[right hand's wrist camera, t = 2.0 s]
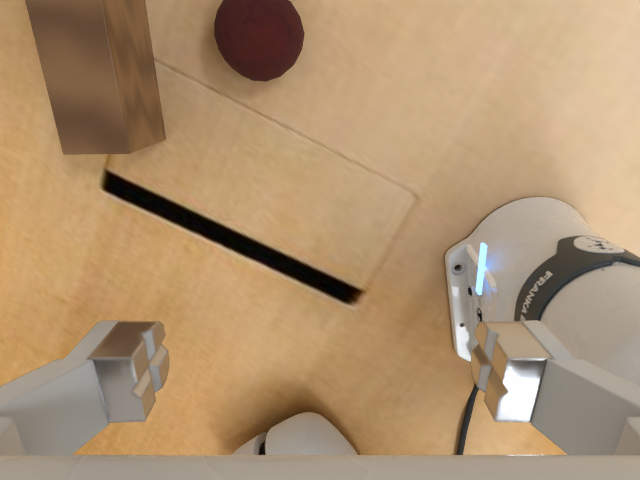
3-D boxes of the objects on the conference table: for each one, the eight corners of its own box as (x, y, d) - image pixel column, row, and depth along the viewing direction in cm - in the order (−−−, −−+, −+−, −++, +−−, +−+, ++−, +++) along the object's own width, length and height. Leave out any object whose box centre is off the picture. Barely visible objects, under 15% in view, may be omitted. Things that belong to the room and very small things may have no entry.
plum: (220, -3, 37) (199, -20, 31) (303, -6, 37) (300, -24, 31) (229, 82, 40) (211, 83, 34) (307, 79, 40) (304, 80, 34)
